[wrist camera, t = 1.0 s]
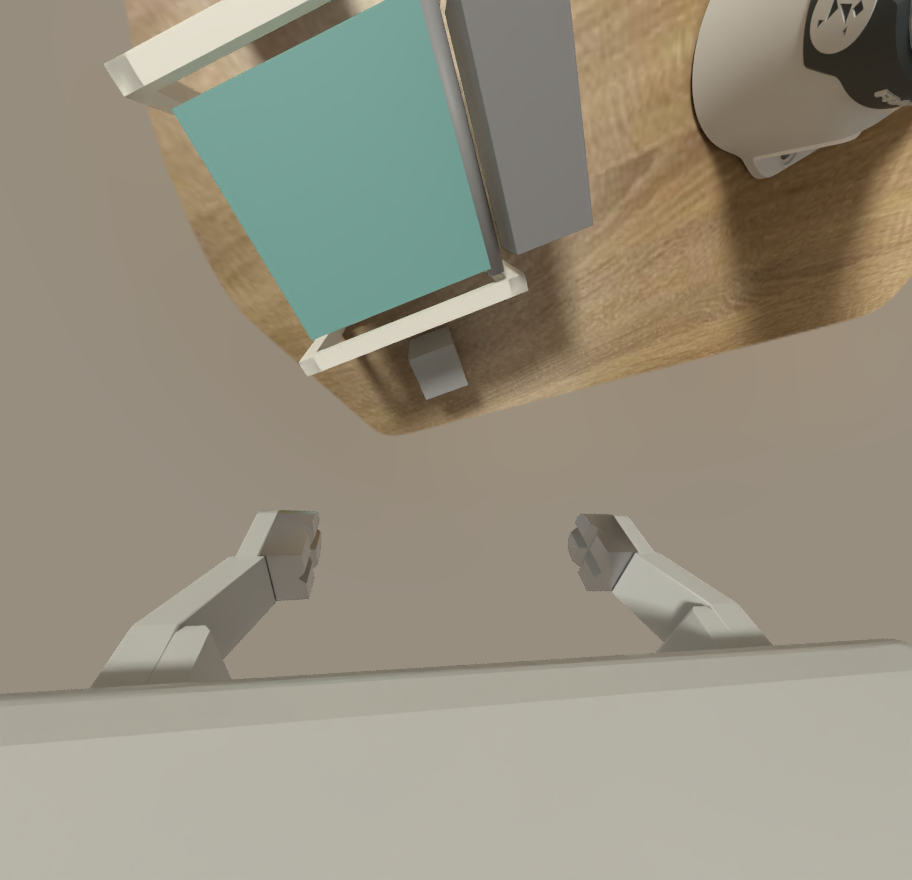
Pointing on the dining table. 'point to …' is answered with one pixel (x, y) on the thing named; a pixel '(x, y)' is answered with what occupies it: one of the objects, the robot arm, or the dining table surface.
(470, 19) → the trapdoor
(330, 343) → the frame
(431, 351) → the grey block
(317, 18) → the dining table surface
